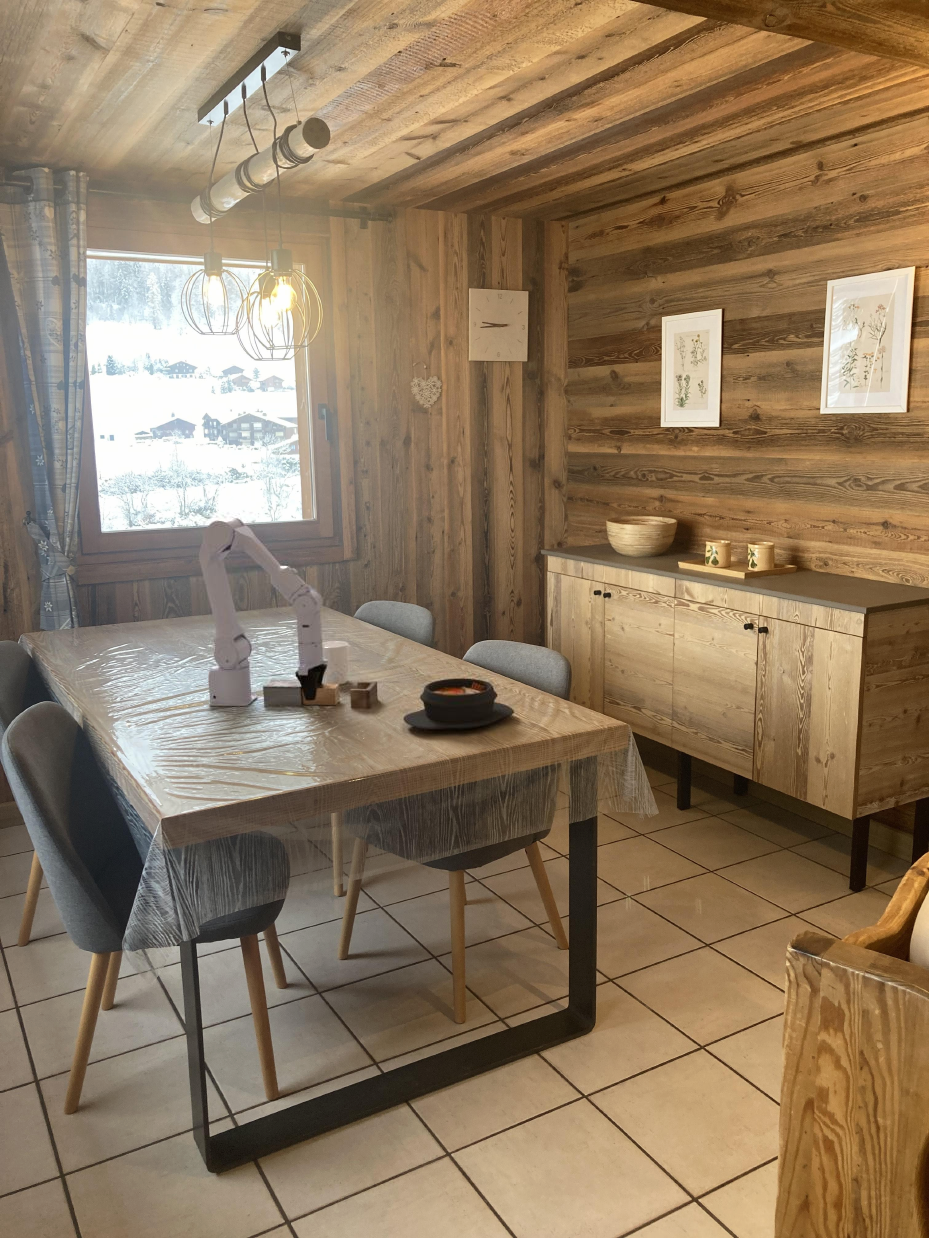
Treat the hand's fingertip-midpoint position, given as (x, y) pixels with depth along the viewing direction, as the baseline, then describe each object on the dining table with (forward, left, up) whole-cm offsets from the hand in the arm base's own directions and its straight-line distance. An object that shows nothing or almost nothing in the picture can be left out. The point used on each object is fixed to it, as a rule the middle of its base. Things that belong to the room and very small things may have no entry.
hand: (312, 697), depth 233 cm
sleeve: (-6, 0, -1) cm, 7 cm away
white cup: (0, +20, -2) cm, 20 cm away
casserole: (+37, -14, -2) cm, 40 cm away
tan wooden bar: (-2, 0, -1) cm, 2 cm away
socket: (+12, 0, -1) cm, 13 cm away
